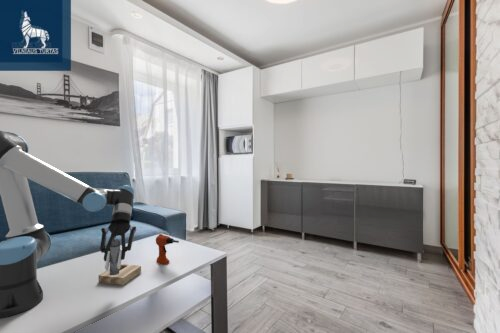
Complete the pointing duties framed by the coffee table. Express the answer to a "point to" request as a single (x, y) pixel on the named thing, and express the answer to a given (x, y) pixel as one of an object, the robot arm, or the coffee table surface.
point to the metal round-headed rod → (114, 256)
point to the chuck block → (120, 274)
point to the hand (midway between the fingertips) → (112, 268)
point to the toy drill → (163, 248)
